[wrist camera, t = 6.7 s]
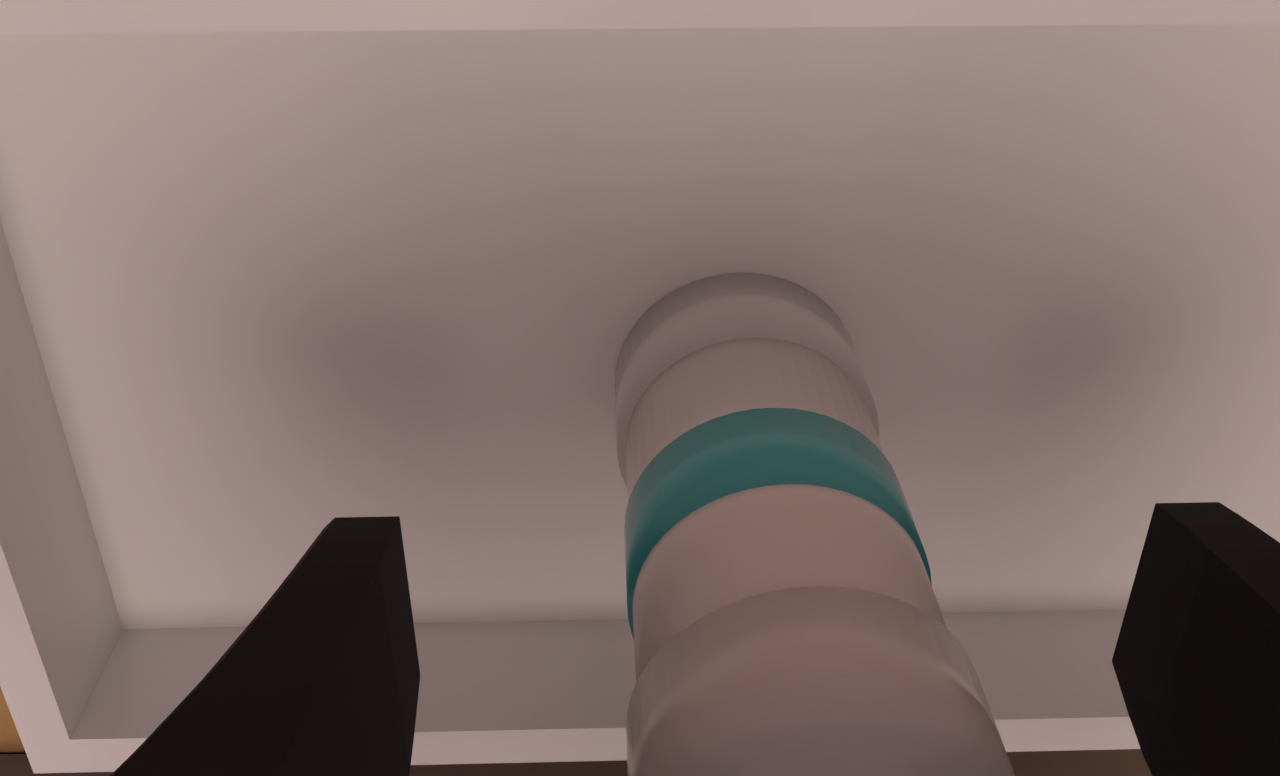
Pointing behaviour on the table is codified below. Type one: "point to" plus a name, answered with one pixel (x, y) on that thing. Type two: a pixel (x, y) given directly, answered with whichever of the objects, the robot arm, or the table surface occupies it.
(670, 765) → the marked cartridge
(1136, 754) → the holder
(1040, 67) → the tray
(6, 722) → the table surface
